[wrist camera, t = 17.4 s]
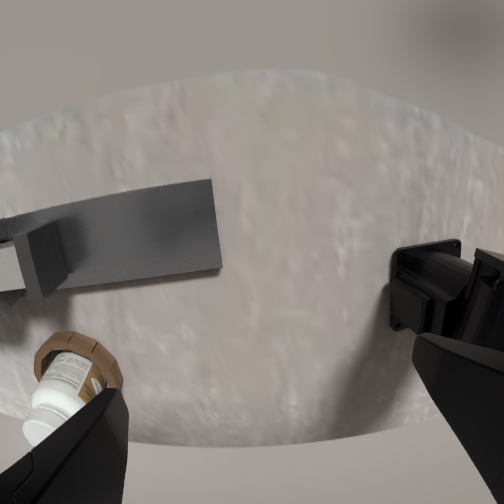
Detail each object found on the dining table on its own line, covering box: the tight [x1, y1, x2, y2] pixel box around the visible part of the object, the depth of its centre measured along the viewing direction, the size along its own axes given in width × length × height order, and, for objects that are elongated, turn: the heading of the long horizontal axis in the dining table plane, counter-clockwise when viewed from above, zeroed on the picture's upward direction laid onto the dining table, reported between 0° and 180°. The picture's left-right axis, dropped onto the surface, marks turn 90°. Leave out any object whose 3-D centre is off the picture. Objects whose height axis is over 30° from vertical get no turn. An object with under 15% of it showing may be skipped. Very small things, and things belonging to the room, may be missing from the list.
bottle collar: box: [34, 331, 123, 390], centre depth 20 cm, size 7×7×2 cm
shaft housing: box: [0, 178, 223, 315], centre depth 16 cm, size 24×5×5 cm, turn 96°
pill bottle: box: [23, 350, 106, 447], centre depth 17 cm, size 4×4×8 cm
